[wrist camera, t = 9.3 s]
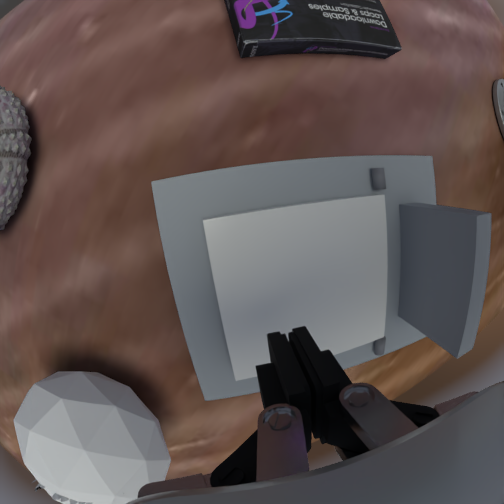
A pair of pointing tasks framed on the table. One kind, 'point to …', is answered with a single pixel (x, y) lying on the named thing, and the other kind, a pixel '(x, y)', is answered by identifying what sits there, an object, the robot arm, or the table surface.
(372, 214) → the tile
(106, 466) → the geodesic sphere
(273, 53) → the box
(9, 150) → the sea urchin shell
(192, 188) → the board
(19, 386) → the table surface
